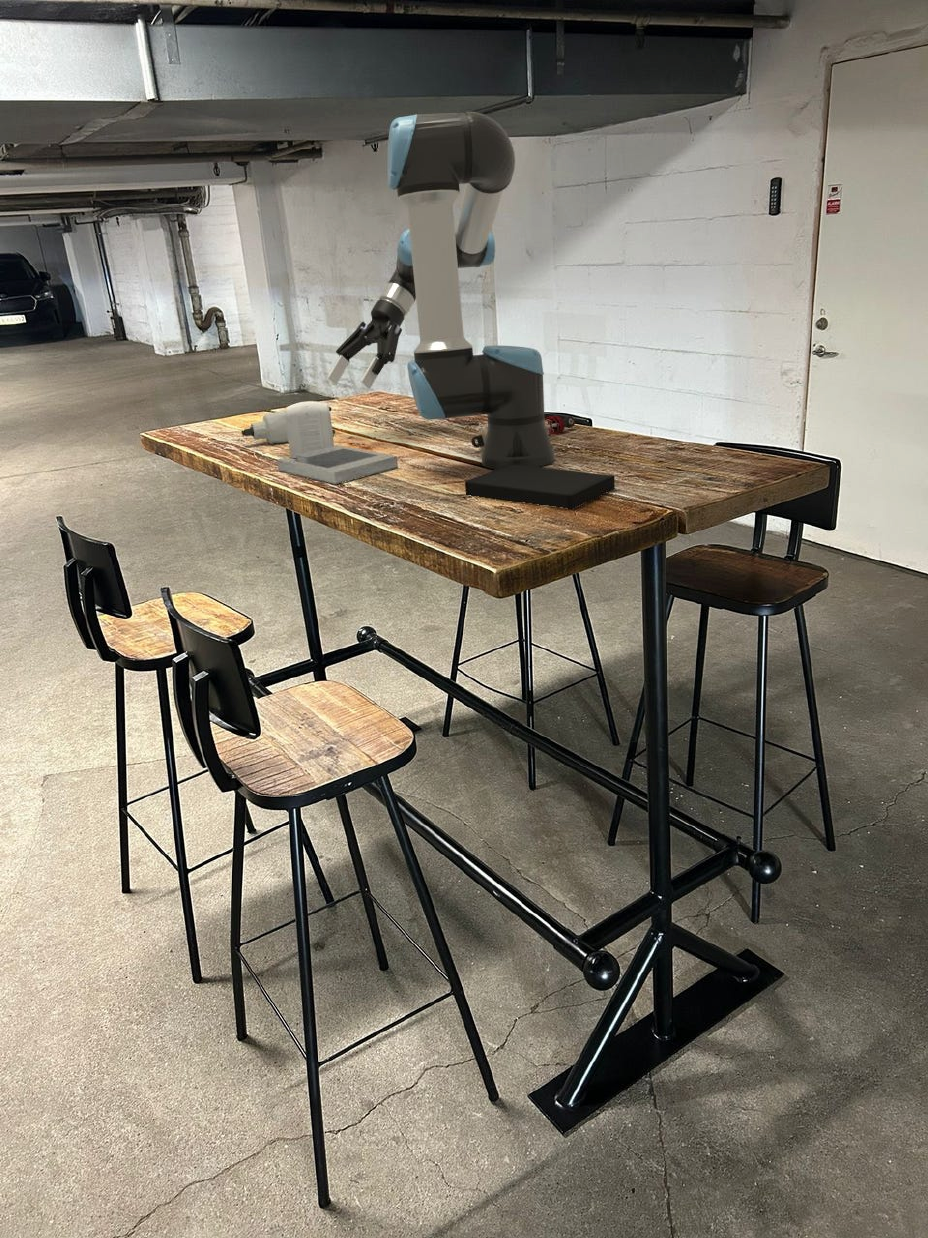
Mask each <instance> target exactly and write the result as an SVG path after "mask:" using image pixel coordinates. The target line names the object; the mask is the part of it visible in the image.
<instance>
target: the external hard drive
mask: <svg viewBox="0 0 928 1238" xmlns="http://www.w3.org/2000/svg"><path fill="white" fill-rule="evenodd" d="M615 479H616V478H615V475H611V474H603V473H593V472H584V471H574V470H566V469H558V468H557V469H556V468H547V467H531V466H522V465H513V464H509V465H506V466H504V467H501V468H498V469H493V470H491V471H488V472H486V473H484V474H481V475H477V476H475V477H473V478H471V479H468V480H465V481H464V487H465V488H464V489H465V496H466V495H471V496H470V497H474V496H479V497H478V498H481V497H485V498H484V499H488V498H491V499H490V500H495V499H496V501H501V502H502V501H505V502H509V501H512V502H511V503H517V502H525V503H532V504H539V505H549V506H556V507H563V508H568V509H573V508H575V507H577V506H579V505H581V504H583V503H585V502H588V503H590V502H592V501H594V500H596V499H598V498H600V497H602V496H604V495H605V494H604V493H606V492H608V493H610V492H609V491H611V490H613V489H616V488H615V487H616V486H615V483H616V481H615ZM613 491H614V490H613ZM611 492H612V491H611ZM603 494H604V495H603ZM606 494H607V493H606ZM601 495H602V496H601ZM599 496H600V497H599ZM597 497H598V498H597ZM595 498H596V499H595ZM593 499H594V500H593ZM591 500H592V501H591ZM589 501H590V502H589Z"/></svg>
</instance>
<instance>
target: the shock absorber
mask: <svg viewBox="0 0 928 1238" xmlns="http://www.w3.org/2000/svg"><path fill="white" fill-rule="evenodd" d="M544 418H545V422H547V424H545V425H546V428H547V430H548V434H549V437H550V436H552V435H559V434H562V433H563V432H564V430H565V428H567V429H570V428H573V427H575V425H576V419H575V418H574V417H573V416H571V415H569V416H567V417H565V418H563V417H562V416H561V415H558V414H557V415H551V416H547V417H544ZM487 430H488V428H486V429H485V428H484V429H482V430H479V431H477V433H476V436H472V438H471V439H470V441H471V445H472V447H474V448H479V449H480V450H481V451H482V450H483V449H484V446H485V439H486V434H487Z"/></svg>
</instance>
